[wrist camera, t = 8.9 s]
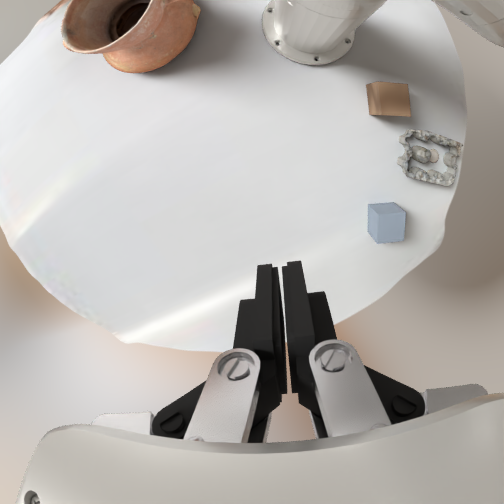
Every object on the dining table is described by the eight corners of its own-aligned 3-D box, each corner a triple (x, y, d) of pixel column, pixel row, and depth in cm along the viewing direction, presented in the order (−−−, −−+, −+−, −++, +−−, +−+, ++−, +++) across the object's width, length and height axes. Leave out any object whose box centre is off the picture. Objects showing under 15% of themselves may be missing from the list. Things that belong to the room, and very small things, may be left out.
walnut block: (365, 84, 30) (377, 81, 26) (393, 86, 29) (407, 84, 25) (369, 114, 32) (381, 115, 28) (396, 115, 31) (410, 116, 27)
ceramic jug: (209, -17, 23) (181, -65, 10) (214, 62, 30) (180, 34, 17) (102, 16, 25) (47, -4, 12) (102, 90, 31) (39, 89, 19)
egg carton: (451, 139, 32) (465, 143, 28) (444, 182, 35) (458, 190, 32) (398, 123, 32) (411, 125, 28) (392, 171, 36) (404, 178, 32)
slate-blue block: (367, 204, 38) (378, 214, 34) (393, 202, 38) (406, 212, 34) (367, 231, 40) (377, 243, 36) (392, 228, 40) (403, 240, 36)
